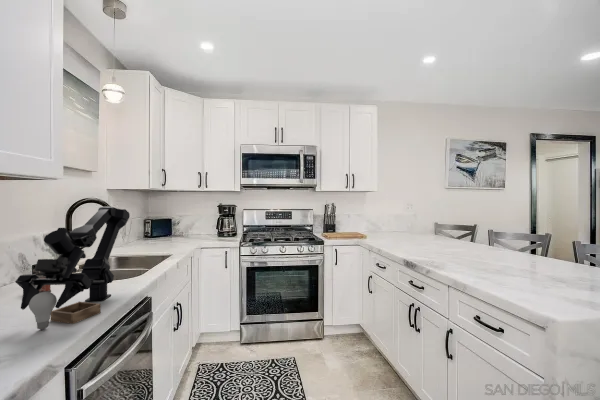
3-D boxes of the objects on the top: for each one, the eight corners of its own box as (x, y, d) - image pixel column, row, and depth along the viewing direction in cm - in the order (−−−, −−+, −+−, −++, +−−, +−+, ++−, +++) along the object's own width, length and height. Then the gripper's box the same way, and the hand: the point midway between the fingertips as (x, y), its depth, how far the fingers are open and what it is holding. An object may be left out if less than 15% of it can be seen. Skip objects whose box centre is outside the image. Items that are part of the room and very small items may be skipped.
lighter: (53, 291, 121) (53, 267, 121) (45, 294, 117) (45, 269, 117) (36, 290, 121) (36, 267, 121) (27, 293, 118) (28, 269, 118)
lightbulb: (28, 329, 84) (28, 292, 84) (55, 323, 89) (55, 288, 89) (28, 336, 80) (29, 297, 80) (57, 329, 84) (57, 292, 84)
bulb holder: (79, 310, 99) (79, 301, 99) (100, 312, 97) (100, 303, 97) (50, 320, 90) (50, 311, 91) (73, 323, 88) (73, 314, 88)
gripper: (20, 248, 88) (-16, 296, 76) (85, 247, 89) (59, 293, 78) (41, 268, 95) (11, 314, 84) (100, 266, 97) (78, 311, 86)
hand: (39, 308), depth 83 cm, fingers open, 9 cm apart
